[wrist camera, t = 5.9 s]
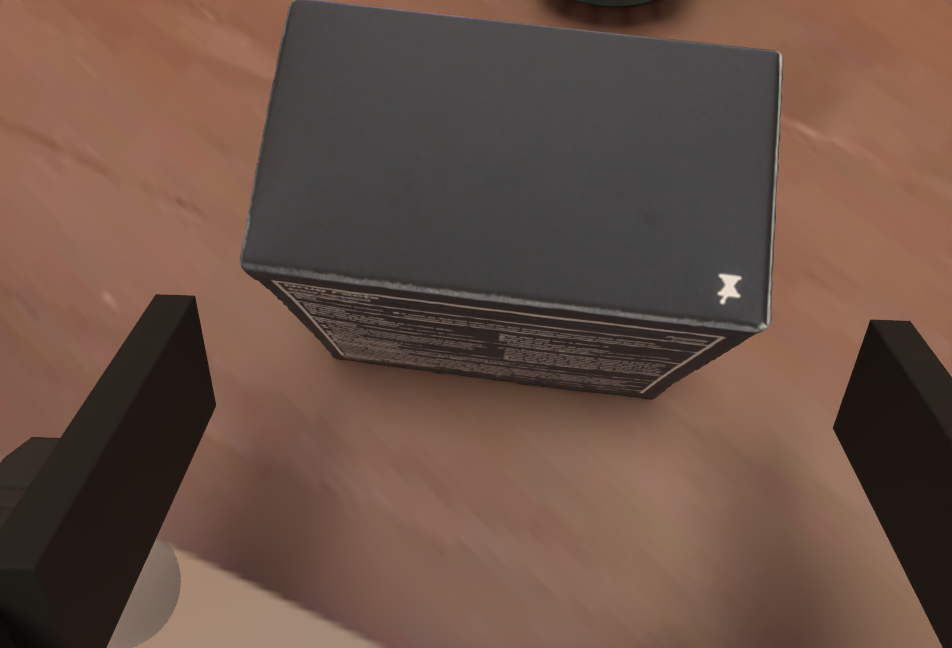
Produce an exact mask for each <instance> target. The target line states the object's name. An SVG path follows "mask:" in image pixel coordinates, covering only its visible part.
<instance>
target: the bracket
mask: <svg viewBox="0 0 952 648" xmlns="http://www.w3.org/2000/svg"><path fill="white" fill-rule="evenodd" d="M577 1H580V2H585V3H590V4H595V5H602V6H627V5H635V4H642V3H646V2H649V1H653V0H577Z"/></svg>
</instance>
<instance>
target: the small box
mask: <svg viewBox="0 0 952 648" xmlns="http://www.w3.org/2000/svg"><path fill="white" fill-rule="evenodd" d="M782 81H783V57H782V55H781V53H780V52H778V51H775V50H767V49H755V48H747V47H737V46H728V45H719V44H711V43H703V42H693V41H683V40H674V39H664V38H654V37H645V36H635V35H626V34H616V33H607V32H598V31H589V30H579V29H570V28H561V27H552V26H543V25H533V24H524V23H515V22H507V21H498V20H489V19H480V18H471V17H462V16H453V15H444V14H435V13H427V12H418V11H409V10H400V9H391V8H383V7H374V6H365V5H357V4H347V3H339V2H332V1H324V0H293V1H292V2H291V4H290V6H289V10H288V14H287V18H286V22H285V26H284V30H283V35H282V39H281V43H280V49H279V54H278V59H277V64H276V70H275V77H274V80H273V84H272V90H271V95H270V100H269V105H268V109H267V113H266V121H265V126H264V131H263V137H262V143H261V148H260V153H259V158H258V163H257V167H256V172H255V178H254V185H253V190H252V195H251V201H250V206H249V212H248V217H247V223H246V228H245V233H244V238H243V243H242V249H241V256H240V264H241V267H242V269H243V270H244V271H245V272H246V273H247V274H248V275H250V276H251V277H252V278H254V279H255V280H258V281H259V282H260V283H262V284H263V285H264V286H265V287H266V288H267V289H270V291H271V292H272V293H273V294H274V295H275V296H277V298H278V299H279V300H281V301H283V304H284V305H286V306H287V307H288V309H289V310H290V311H291V312H292V313H293V314H294V315H295V316H296V317H297V318H298V319H299V320H300V321H301V322H302V323H303V324H304V325H305V326H306V327H307V328H308V329H309V330H310V331H311V332H312V333H313V334H314V336H315V337H316V338H317V339H319V340H320V341H321V343H322V344H323V345H324V346H325V347H326V349H327V350H328V351H329V352H330V353H331V355H332V357H334V358H336V359H347V360H353V361H360V362H366V363H373V364H381V365H389V366H397V367H403V368H413V369H421V370H427V371H434V372H436V373H451V374H460V375H465V376H474V377H483V378H490V379H498V380H504V381H512V382H519V383H521V384H530V385H541V386H551V387H558V388H568V389H571V390H581V391H589V392H600V393H609V394H619V395H626V396H636V397H643V398H648V399H654V398H655V397H656V396H658V395H659V394H661V393H662V392H663V391H665V390H666V389H667V388H668V387H670V386H671V385H672V384H673V383H675V382H677V381H679V380H680V379H682V378H683V377H685V376H687V375H689V374H690V373H692V372H693V371H694V370H697V369H700V368H701V367H702V366H704V365H706V364H708V363H709V362H710V361H712V360H714V359H716V358H717V357H719V356H721V355H722V354H724V353H725V352H728V351H729V350H730V349H731V348H734V347H735V346H737V345H739V344H741V343H742V342H743V341H745V340H746V339H748V338H749V337H751V336H753V335H755V334H757V333H760V332H762V331H763V330H764V329H766V328H767V327H768V326H770V324H771V293H772V270H773V256H774V237H775V222H776V190H777V174H778V157H779V141H780V115H781V101H782V93H781V89H782Z"/></svg>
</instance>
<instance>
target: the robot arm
mask: <svg viewBox="0 0 952 648" xmlns="http://www.w3.org/2000/svg"><path fill="white" fill-rule="evenodd" d="M215 407H216V402H215V397H214V392H213V387H212V381H211V376H210V371H209V366H208V361H207V355H206V350H205V345H204V340H203V335H202V330H201V324H200V319H199V314H198V309H197V304H196V299H195V296H187V295H159V294H156V295H155V296H154V298H153V299H152V301H151V302H150V304H149V305H148V307H147V308H146V310H145V311H144V313H143V314H142V316H141V318H140V319H139V321H138V322H137V324H136V325H135V327H134V328H133V330H132V331H131V333H130V334H129V336H128V337H127V339H126V340H125V342H124V343H123V345H122V346H121V348H120V349H119V351H118V352H117V354H116V355H115V357H114V358H113V360H112V361H111V363H110V364H109V366H108V367H107V369H106V370H105V372H104V373H103V375H102V376H101V378H100V379H99V381H98V382H97V384H96V385H95V387H94V388H93V390H92V391H91V393H90V394H89V396H88V397H87V399H86V400H85V402H84V403H83V405H82V406H81V408H80V409H79V411H78V412H77V414H76V415H75V417H74V418H73V420H72V421H71V423H70V424H69V426H68V427H67V429H66V430H65V432H64V433H63V435H62V436H61V438H44V437H31V438H30V439H29V440H27V441H26V442H25V443H24V444H22V445H21V446H20V447H18V448H17V449H16V450H14V451H13V452H12V453H10V454H9V455H8V456H6V457H5V458H4V459H3V460H2V462H1V463H0V648H106V647H107V645H108V643H109V641H110V639H111V636H112V634H113V632H114V630H115V628H116V625H117V623H118V621H119V619H120V617H121V614H122V612H123V610H124V608H125V606H126V603H127V601H128V599H129V597H130V595H131V592H132V590H133V588H134V586H135V583H136V581H137V579H138V577H139V575H140V572H141V570H142V568H143V566H144V564H145V561H146V559H147V557H148V555H149V553H150V550H151V548H152V546H153V544H154V542H155V539H156V537H157V535H158V533H159V531H160V528H161V526H162V524H163V522H164V520H165V517H166V515H167V513H168V511H169V508H170V506H171V504H172V502H173V500H174V497H175V495H176V493H177V491H178V489H179V486H180V484H181V482H182V480H183V478H184V475H185V473H186V471H187V469H188V467H189V464H190V462H191V460H192V458H193V456H194V453H195V451H196V449H197V447H198V444H199V442H200V440H201V438H202V436H203V433H204V431H205V429H206V427H207V425H208V422H209V420H210V418H211V416H212V414H213V411H214V409H215ZM833 429H834V431H835V433H836V435H837V437H838V439H839V441H840V443H841V445H842V447H843V449H844V451H845V453H846V455H847V457H848V459H849V461H850V463H851V465H852V467H853V469H854V471H855V473H856V475H857V477H858V479H859V481H860V483H861V485H862V487H863V489H864V491H865V493H866V495H867V497H868V499H869V501H870V503H871V505H872V507H873V509H874V511H875V513H876V515H877V517H878V519H879V521H880V523H881V525H882V527H883V529H884V531H885V533H886V535H887V537H888V539H889V541H890V543H891V545H892V547H893V549H894V551H895V553H896V555H897V557H898V559H899V561H900V563H901V565H902V567H903V569H904V571H905V573H906V575H907V577H908V579H909V581H910V583H911V585H912V587H913V589H914V591H915V593H916V595H917V597H918V599H919V601H920V603H921V605H922V607H923V609H924V611H925V613H926V615H927V617H928V619H929V621H930V623H931V625H932V627H933V629H934V631H935V633H936V635H937V637H938V639H939V641H940V643H941V645H942V647H943V648H952V377H951V376H950V374H949V373H948V372H947V370H946V369H945V368H944V366H943V365H942V363H941V362H940V361H939V359H938V358H937V357H936V355H935V354H934V353H933V351H932V350H931V349H930V347H929V346H928V345H927V343H926V342H925V340H924V339H923V338H922V336H921V335H920V334H919V332H918V331H917V330H916V328H915V327H914V326H913V324H912V323H911V322H910V321H894V320H870V322H869V325H868V328H867V331H866V334H865V337H864V340H863V343H862V345H861V348H860V351H859V354H858V357H857V360H856V363H855V366H854V368H853V371H852V374H851V377H850V380H849V383H848V386H847V389H846V392H845V394H844V397H843V400H842V403H841V406H840V409H839V412H838V415H837V418H836V420H835V423H834V426H833Z"/></svg>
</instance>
